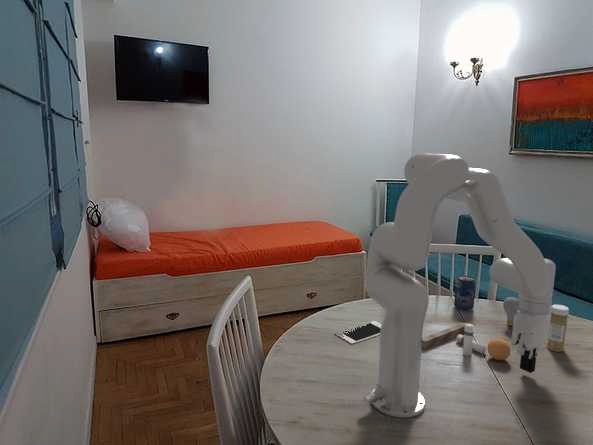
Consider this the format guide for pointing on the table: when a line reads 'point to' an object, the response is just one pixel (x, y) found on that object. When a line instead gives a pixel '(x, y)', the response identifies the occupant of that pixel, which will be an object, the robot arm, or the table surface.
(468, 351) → the side pin
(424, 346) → the brown wooden bar
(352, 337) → the cell phone
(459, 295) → the soda can
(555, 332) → the sprinkles bottle
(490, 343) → the ball
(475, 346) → the front pin
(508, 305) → the light bulb
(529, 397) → the table surface
